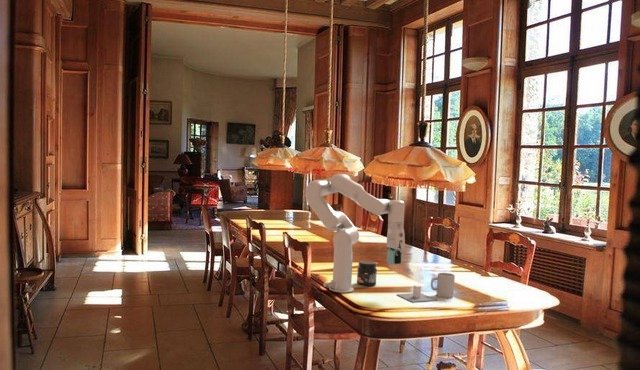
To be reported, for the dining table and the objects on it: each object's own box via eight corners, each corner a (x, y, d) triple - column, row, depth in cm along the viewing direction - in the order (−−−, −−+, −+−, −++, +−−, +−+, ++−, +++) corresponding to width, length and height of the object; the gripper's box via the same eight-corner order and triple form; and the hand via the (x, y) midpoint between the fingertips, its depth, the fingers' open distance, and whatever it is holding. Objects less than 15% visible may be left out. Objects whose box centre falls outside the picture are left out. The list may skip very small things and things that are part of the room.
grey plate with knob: (412, 302, 255) (413, 290, 255) (396, 295, 268) (397, 283, 268) (436, 300, 261) (437, 288, 261) (420, 293, 274) (420, 281, 274)
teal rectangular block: (392, 264, 258) (393, 251, 258) (386, 262, 263) (387, 249, 263) (401, 264, 260) (402, 250, 260) (396, 262, 265) (396, 249, 265)
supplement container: (353, 282, 291) (354, 260, 291) (370, 282, 295) (372, 260, 294) (361, 287, 281) (362, 264, 281) (379, 286, 285) (380, 264, 285)
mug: (450, 293, 277) (451, 272, 276) (456, 298, 268) (457, 276, 268) (427, 293, 276) (428, 272, 275) (432, 297, 267) (434, 275, 267)
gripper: (412, 227, 255) (410, 265, 255) (393, 223, 270) (391, 259, 271) (398, 227, 252) (396, 266, 252) (380, 223, 267) (378, 259, 268)
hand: (394, 262), depth 262 cm, fingers closed on teal rectangular block, 5 cm apart
